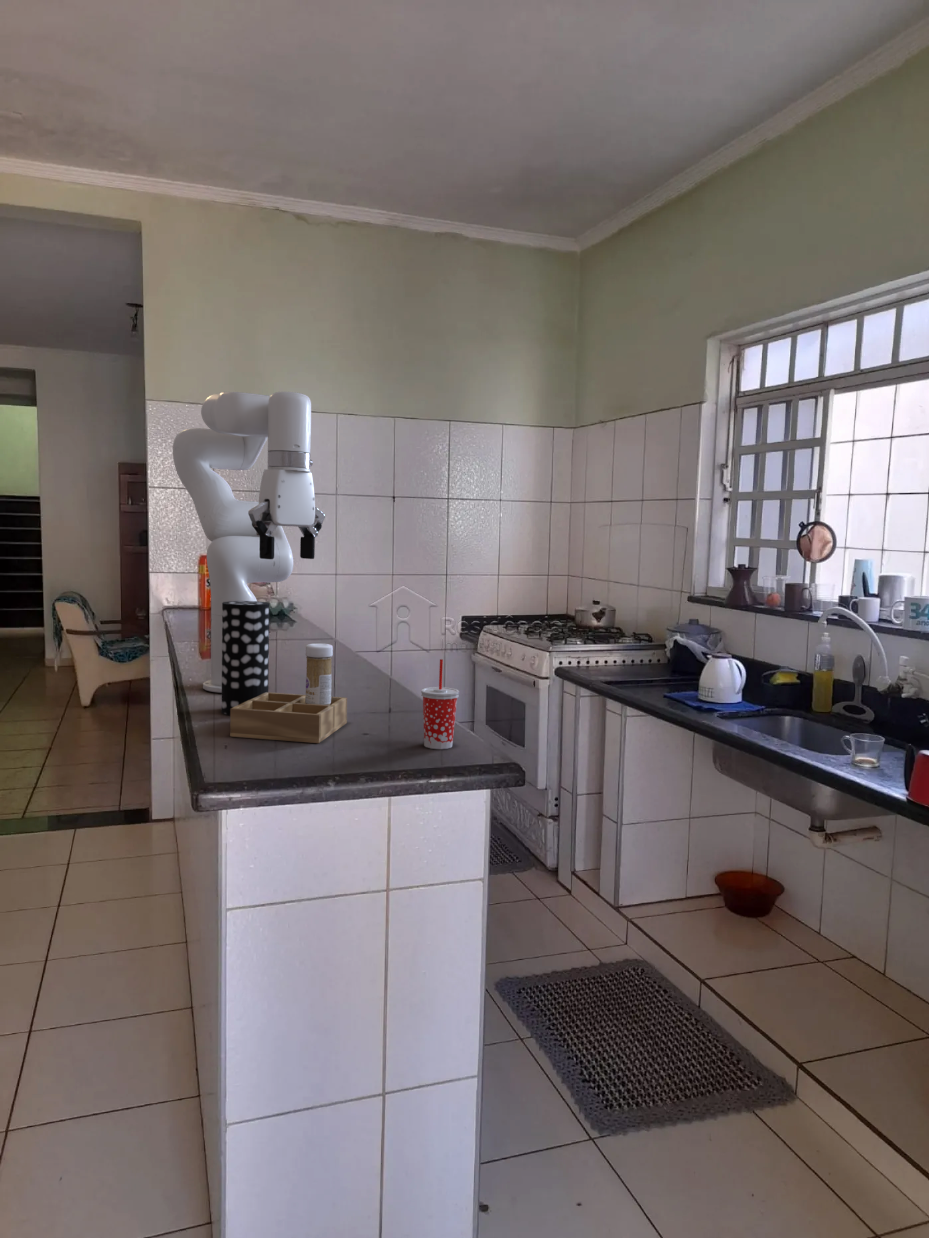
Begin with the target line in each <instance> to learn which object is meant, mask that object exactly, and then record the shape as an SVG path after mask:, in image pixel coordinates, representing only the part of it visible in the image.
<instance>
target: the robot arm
mask: <svg viewBox="0 0 929 1238" xmlns="http://www.w3.org/2000/svg"><path fill="white" fill-rule="evenodd" d="M200 415H201V419H202V421H203V423H204V424H205V426H207V428H203V427H202V428H201V427H193V428H187V429H183V430H182V431H179V433H177V434H176V435H175V438H174V440H173V443H172V458H173V459H172V460H173V464H174V469H175V471H176V475H177V476H178V478H179V480H180V482H181V483H182V486H183V487H184V488H185V490H186V491H187V493H188V494H189V496H190V498H191V500H192V501H193V505H194V509H195V510H196V514H197V517H198V520H199V522H200V525H201V528H202V530H203V533H204V535H205V537H206V538H207V539H208V541H210V544H208V547H207V549H206V565H207V570H208V578H209V586H210V679H207V680H205V681H204V682H202V688H203V690H205V691H207V692H211V693H218V694H222V602H228V601H258V599H257V597H256V596H255V594H254V593H253V592H252V590H251V588H250V587H249V586H248V584H252V583H258V584H259V583H281V582H283V581H286V580H287V579H288V578H290V576H291V575H292V574H293V570H294V555H293V551H292V548H291V545H290V542H289V540H288V538H287V535H286V532H285V530H284V528H283V527H297V528H298V529H299V531H300V532H301V535H302V536H300V541H299V542H300V543H299V544H300V545H299V557H300V558H301V559H306V560H314V559H315V556H316V555H315V554H316V553H315V552H316V551H315V550H316V549H315V548H316V547H315V545H316V538H317V537H319V532H320V531H321V529H322V527H323V523H324V521H325V518H326V515H325V513H324V512H322V510H320V509H319V508H318V507H316V497H315V496H316V495H315V485H314V478H313V473H312V472H311V467H312V466H313V463H314V462H313V460H312V459H311V446H312V445H311V444H312V442H311V441H312V440H311V439H312V400H311V398H310V397H309V396H308V395H307V394H304V393H301V392H296V391H276V392H273V393H271V394H270V395H269V394H268V395H267V394H260V393H251V392H243V391H222V392H216V393H213V394H211V395H209V396H208V397H207V398H206V399H205V400H204V401H203V403H202V405H201V409H200ZM266 442H267V468H266V469H264V470H263V472H262V475H261V480H260V487H259V493H258V494H259V495H258V501H254V500H253V501H252V500H241V499H237V498H236V497H235V496H234V493H233V489H232V487H231V485H230V484H229V483H228V482H227V481H226V479H225V478H224V477H223V476H221V475H220V474H219V473H217V472H216V471H214V470H215V469H217V470H228V471H247V470H249V469H251V468H253V466H254V465H255V463H257V460H258V458H259V456H260V454H261V452H262V450H263V448H264V446H265V445H266ZM213 469H214V470H213Z"/></svg>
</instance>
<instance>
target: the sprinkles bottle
mask: <svg viewBox="0 0 929 1238" xmlns="http://www.w3.org/2000/svg"><path fill="white" fill-rule="evenodd" d="M333 648H334V647H333V645H332V644H329V643H309V644H306V645H305V656H306V672H305V673H306V677H305V695H306V696H305V702H306V704H320V705H330V704H331V697H332V674H333V673H332V658H333V656H334V655H333V654H334V653H333V651H334V649H333Z"/></svg>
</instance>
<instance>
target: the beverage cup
mask: <svg viewBox="0 0 929 1238" xmlns="http://www.w3.org/2000/svg"><path fill="white" fill-rule="evenodd" d="M443 665H444V659H442V658H441V659H439V672H438V673H439V674H438V678H439V679H438V686H429V687H424V688H421V691H420V693H421V697H422V710H423V711H422V715H423V719H422V720H423V746H424V747H425V748H428V749H434V750H447V749H451V748H452V747H453V744H454V734H455V733H454V732H455V722H456V715H457V714H456V712H457V703H458V698H459V697H460V696H459V694H460V690H459V689H457V688H453V687H445V686H443V667H444V666H443Z"/></svg>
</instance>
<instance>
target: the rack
mask: <svg viewBox="0 0 929 1238" xmlns="http://www.w3.org/2000/svg"><path fill="white" fill-rule="evenodd" d="M305 696H306V694H301V693H300V694H299V693H286V692H271V691H270V692H269V691H268V692H266V693H264V694H261V695H259V696H257V697H255V698H253V699H251V700H248V701H246V702H244V703H242V704H240V705H237V706H235V707H233V708H231V710H230V715H229V717H230V718H229V719H230V721H229V726H230V727H229V728H230V729H229V730H230V731H229V732H230V734H229V736H230V737H231V738H243V739H244V738H247V739H260V740H268V741H269V740H271V741H281V742H282V741H284V742H297V743H307V744H308V743H311V744H320V743H321V742H323V741H324V740H326V739H327V738H328V737H330V736H331V735H333V734H334V733H335V732H336V731H338V730H339V729H341V728H342V727H343V726H345V725H347V723H348V722H347V721H348V697H343V696H342V697H341V696H331V704H330V705H320V704H306V702H305Z"/></svg>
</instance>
